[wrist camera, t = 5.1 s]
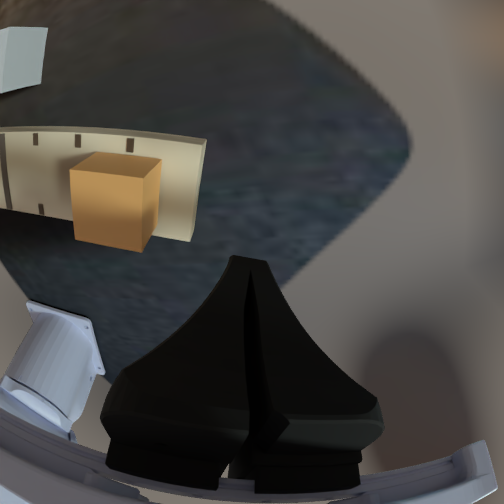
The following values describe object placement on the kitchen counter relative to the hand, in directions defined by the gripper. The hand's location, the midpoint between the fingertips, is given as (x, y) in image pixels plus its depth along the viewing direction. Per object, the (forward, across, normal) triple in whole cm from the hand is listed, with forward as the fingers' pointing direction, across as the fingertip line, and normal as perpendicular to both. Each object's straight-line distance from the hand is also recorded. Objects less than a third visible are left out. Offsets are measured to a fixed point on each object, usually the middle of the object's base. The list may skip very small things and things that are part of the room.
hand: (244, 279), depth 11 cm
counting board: (+8, +13, 0) cm, 15 cm away
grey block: (+8, +17, -8) cm, 21 cm away
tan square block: (+6, +7, 0) cm, 9 cm away
